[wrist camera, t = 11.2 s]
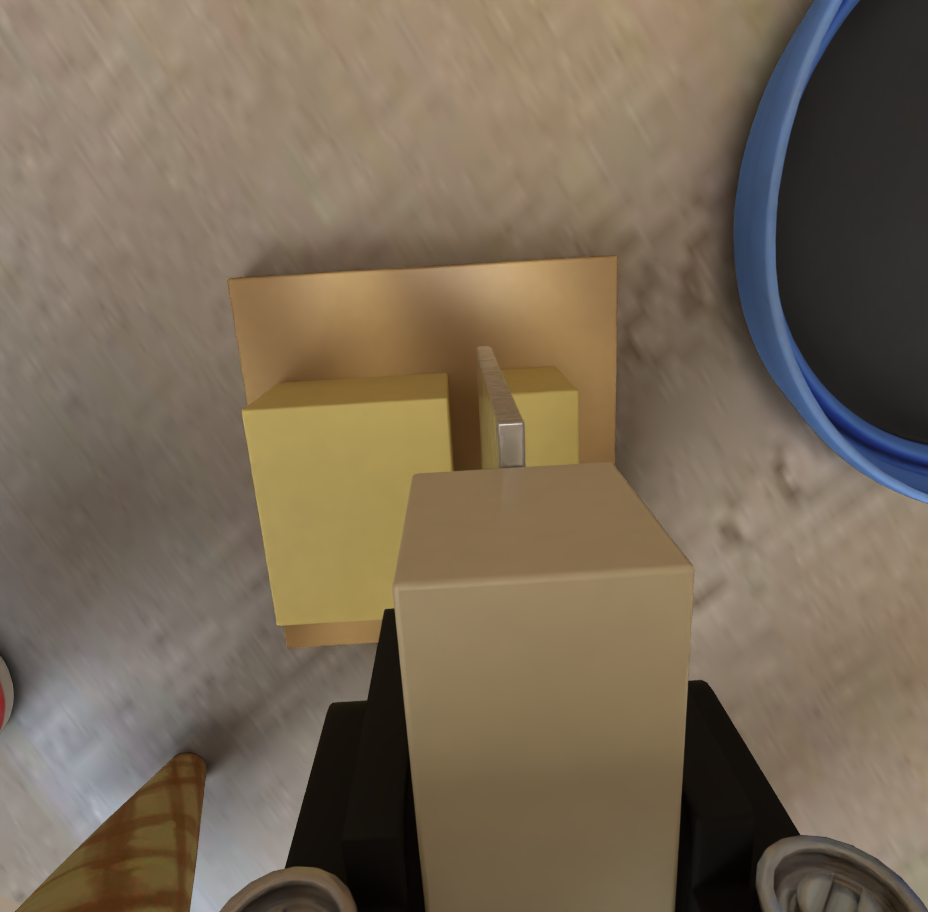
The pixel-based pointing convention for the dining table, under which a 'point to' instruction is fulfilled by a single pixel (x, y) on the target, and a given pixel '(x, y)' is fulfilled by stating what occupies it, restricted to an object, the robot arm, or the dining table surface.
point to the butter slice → (546, 414)
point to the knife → (541, 680)
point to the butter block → (341, 486)
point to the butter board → (436, 346)
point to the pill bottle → (5, 694)
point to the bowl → (845, 233)
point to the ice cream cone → (136, 851)
